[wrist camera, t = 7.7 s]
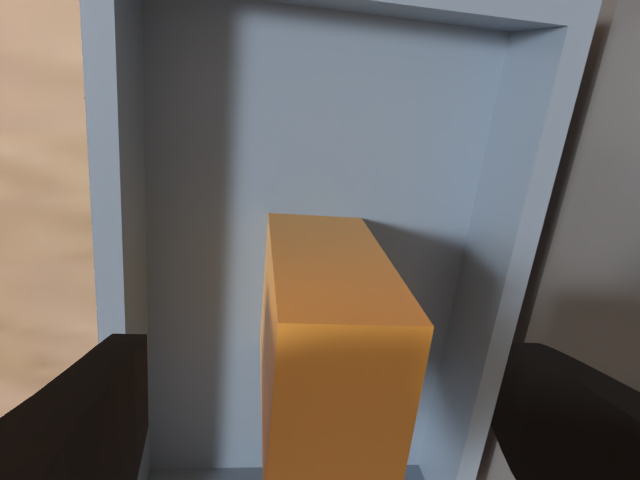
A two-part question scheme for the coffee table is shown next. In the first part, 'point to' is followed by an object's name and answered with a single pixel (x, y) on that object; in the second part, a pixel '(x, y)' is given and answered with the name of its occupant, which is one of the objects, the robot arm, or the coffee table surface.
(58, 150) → the coffee table surface
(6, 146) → the coffee table surface
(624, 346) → the panel
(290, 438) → the orange fuse
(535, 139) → the tray
